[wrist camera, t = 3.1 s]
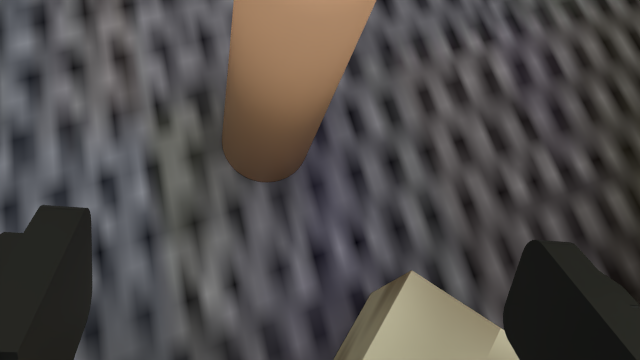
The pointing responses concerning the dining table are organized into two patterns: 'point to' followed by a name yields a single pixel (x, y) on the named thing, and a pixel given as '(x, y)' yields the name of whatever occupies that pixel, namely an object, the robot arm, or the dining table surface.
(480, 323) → the socket
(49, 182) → the dining table surface
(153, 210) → the dining table surface
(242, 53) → the peg
